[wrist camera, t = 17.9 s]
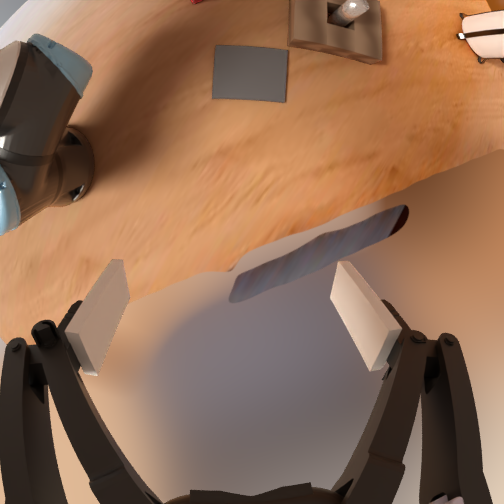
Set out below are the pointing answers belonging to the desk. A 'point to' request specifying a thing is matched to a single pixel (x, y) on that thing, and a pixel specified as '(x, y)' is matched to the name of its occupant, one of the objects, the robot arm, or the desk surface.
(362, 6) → the silver rounded cylinder
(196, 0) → the ink box
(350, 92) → the desk surface
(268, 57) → the rubber mat
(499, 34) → the coffee press
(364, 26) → the hole block
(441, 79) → the desk surface
